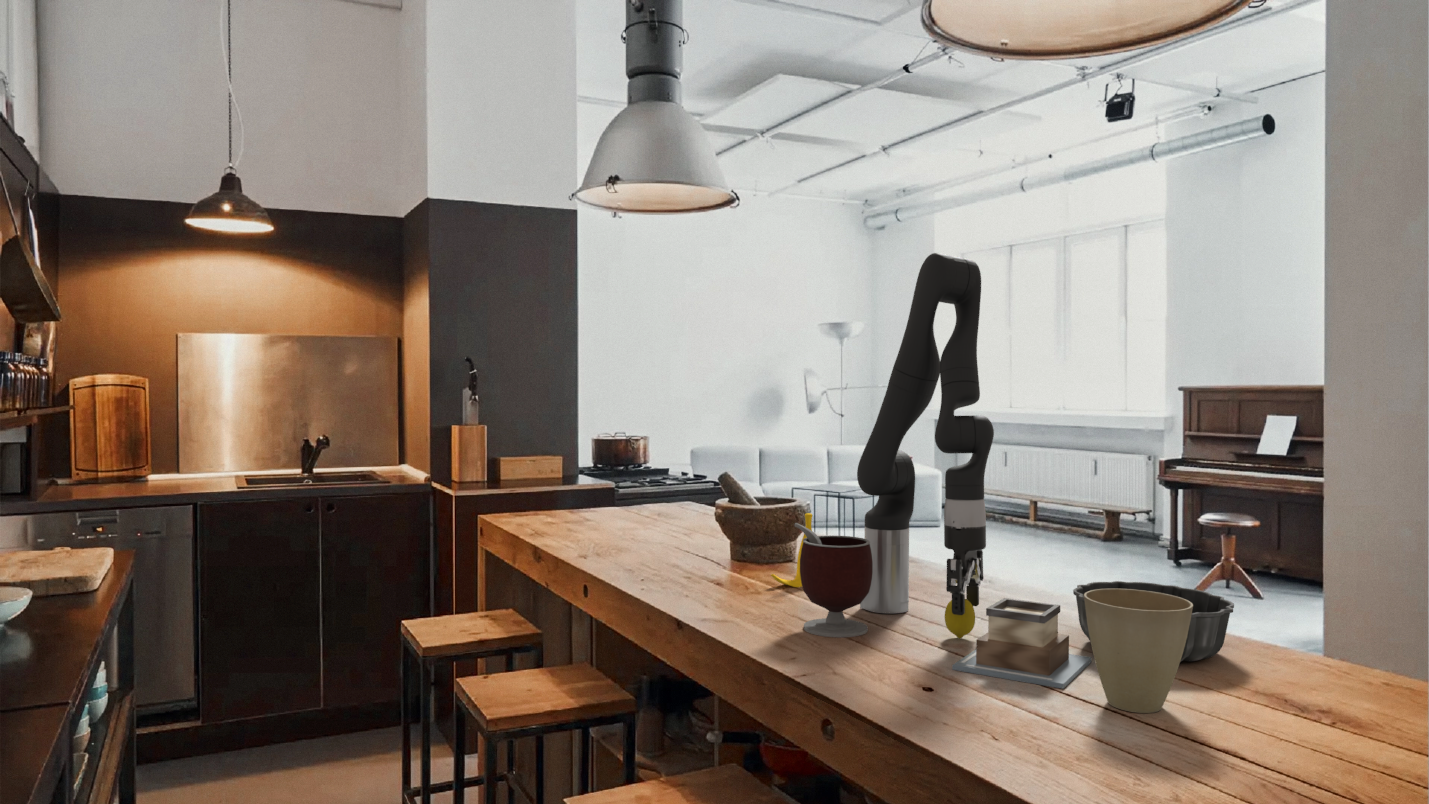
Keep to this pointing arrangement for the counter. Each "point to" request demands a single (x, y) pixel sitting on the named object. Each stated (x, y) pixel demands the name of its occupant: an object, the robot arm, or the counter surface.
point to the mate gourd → (835, 580)
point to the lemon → (960, 620)
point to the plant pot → (1137, 644)
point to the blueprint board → (1056, 679)
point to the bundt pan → (1205, 617)
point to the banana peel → (797, 579)
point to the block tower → (1023, 637)
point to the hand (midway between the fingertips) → (965, 610)
